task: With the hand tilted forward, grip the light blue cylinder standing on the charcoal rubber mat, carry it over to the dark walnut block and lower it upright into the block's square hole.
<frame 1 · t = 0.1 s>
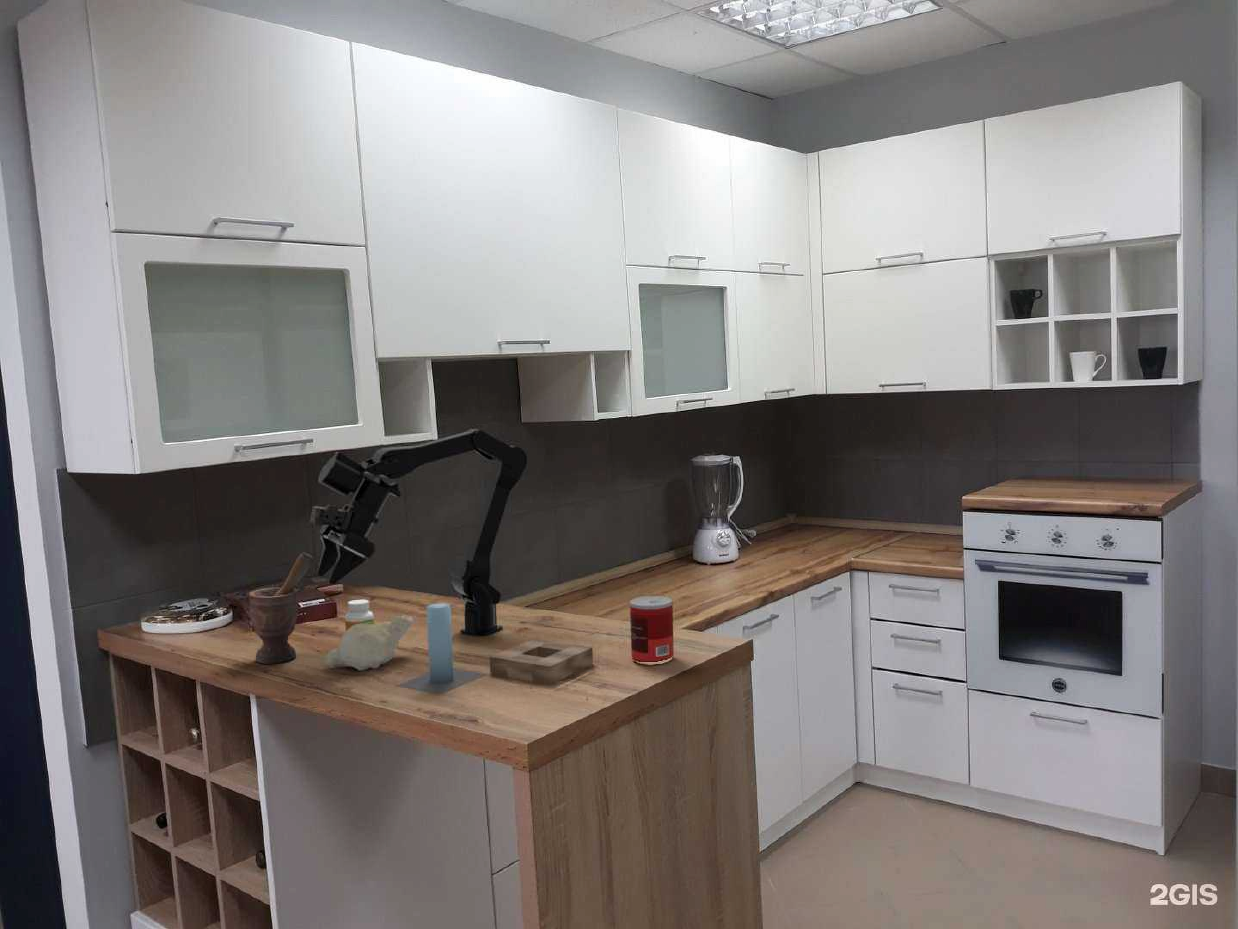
hand: (324, 579, 190), 15 cm above the countertop, tool tilted 35°, fingers open, 9 cm apart
supplement bottle: (361, 651, 194), on the countertop
block: (542, 671, 177), on the countertop
mortar and pestle: (285, 658, 191), on the countertop
light blue cylinder: (441, 680, 173), resting on mat
canned food: (652, 660, 183), on the countertop
mat: (441, 682, 173), on the countertop
cream lumpy knobby chunk: (374, 664, 186), on the countertop
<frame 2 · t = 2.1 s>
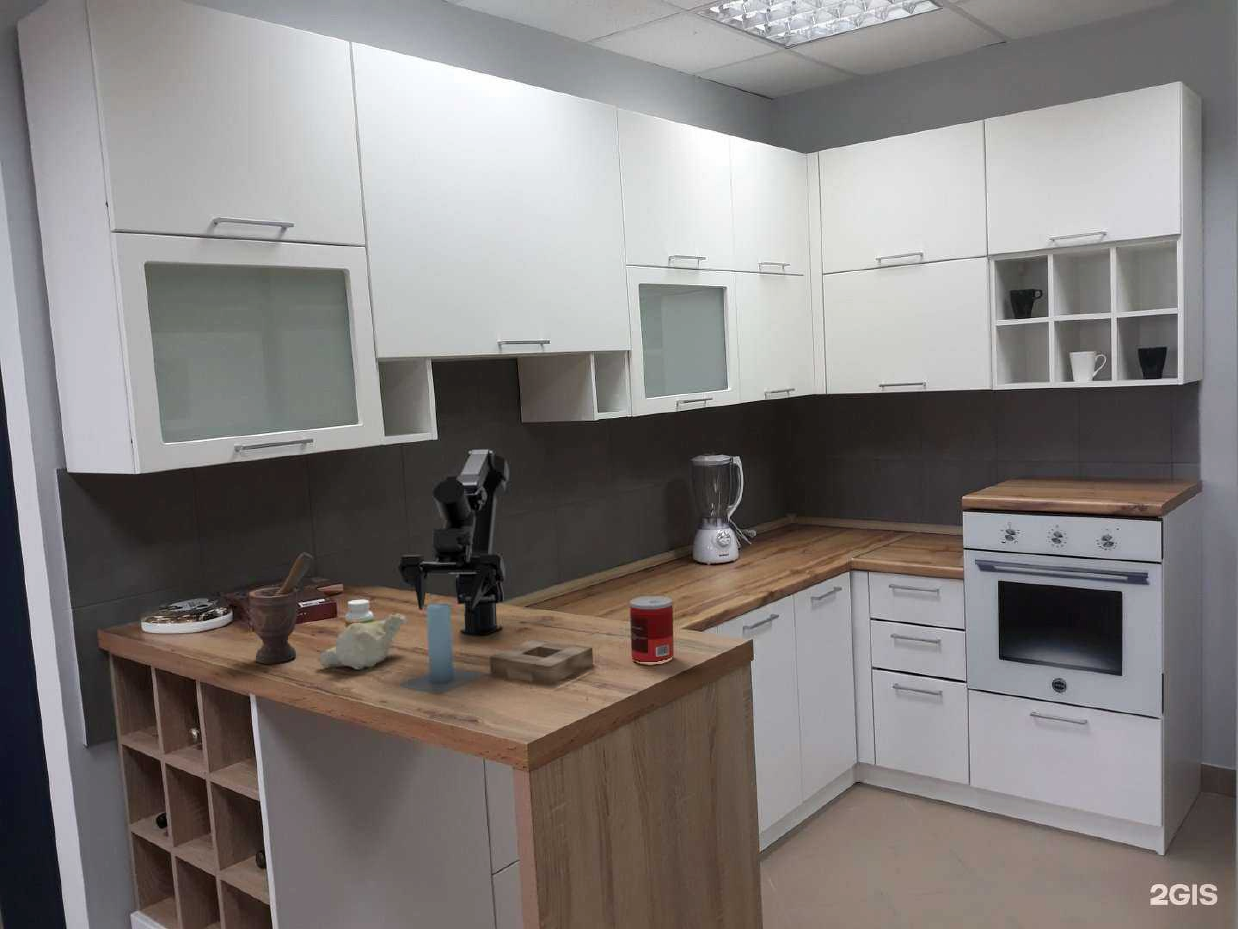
hand: (445, 608, 177), 12 cm above the countertop, tool tilted 45°, fingers open, 9 cm apart
cream lumpy knobby chunk: (368, 663, 186), on the countertop
everything else where it was.
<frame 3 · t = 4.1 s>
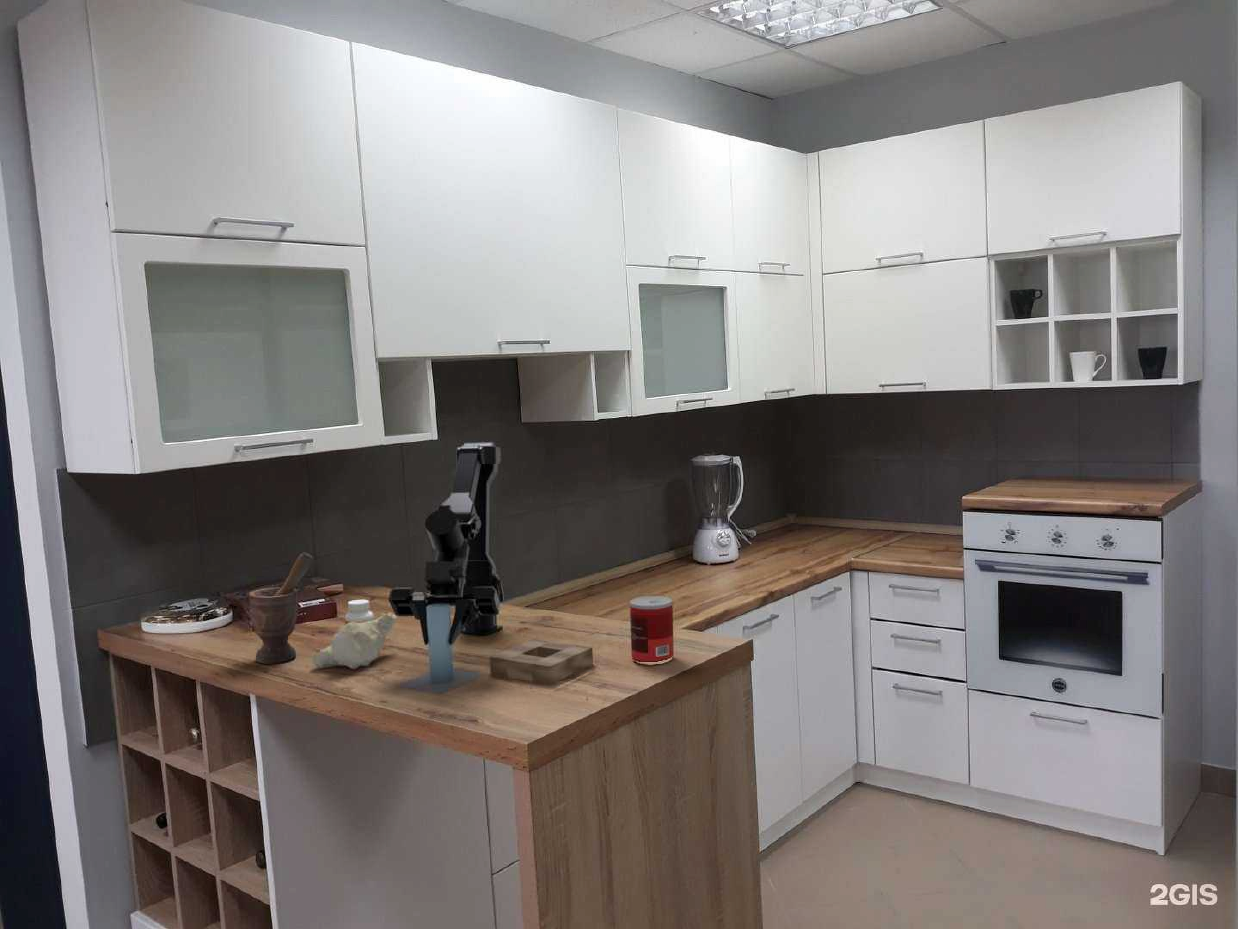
hand: (438, 643, 171), 7 cm above the countertop, tool tilted 45°, fingers closed on light blue cylinder, 4 cm apart
light blue cylinder: (441, 679, 173), resting on mat, touching gripper
cream lumpy knobby chunk: (361, 663, 187), on the countertop
everything else where it was.
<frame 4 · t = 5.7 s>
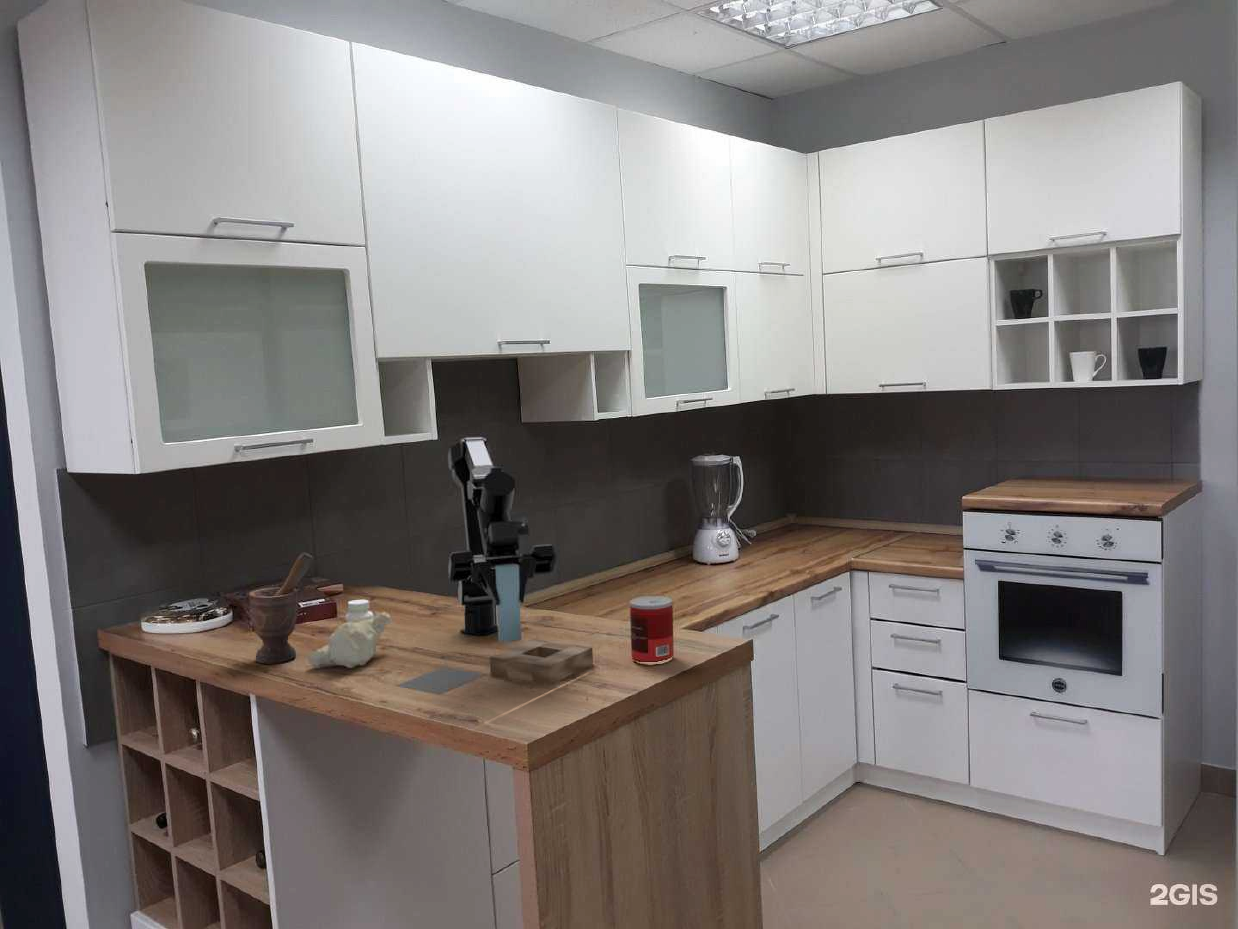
hand: (510, 602, 172), 13 cm above the countertop, tool tilted 45°, fingers closed on light blue cylinder, 4 cm apart
light blue cylinder: (509, 639, 174), point 7 cm above the countertop, touching gripper
cream lumpy knobby chunk: (356, 662, 187), on the countertop
everything else where it was.
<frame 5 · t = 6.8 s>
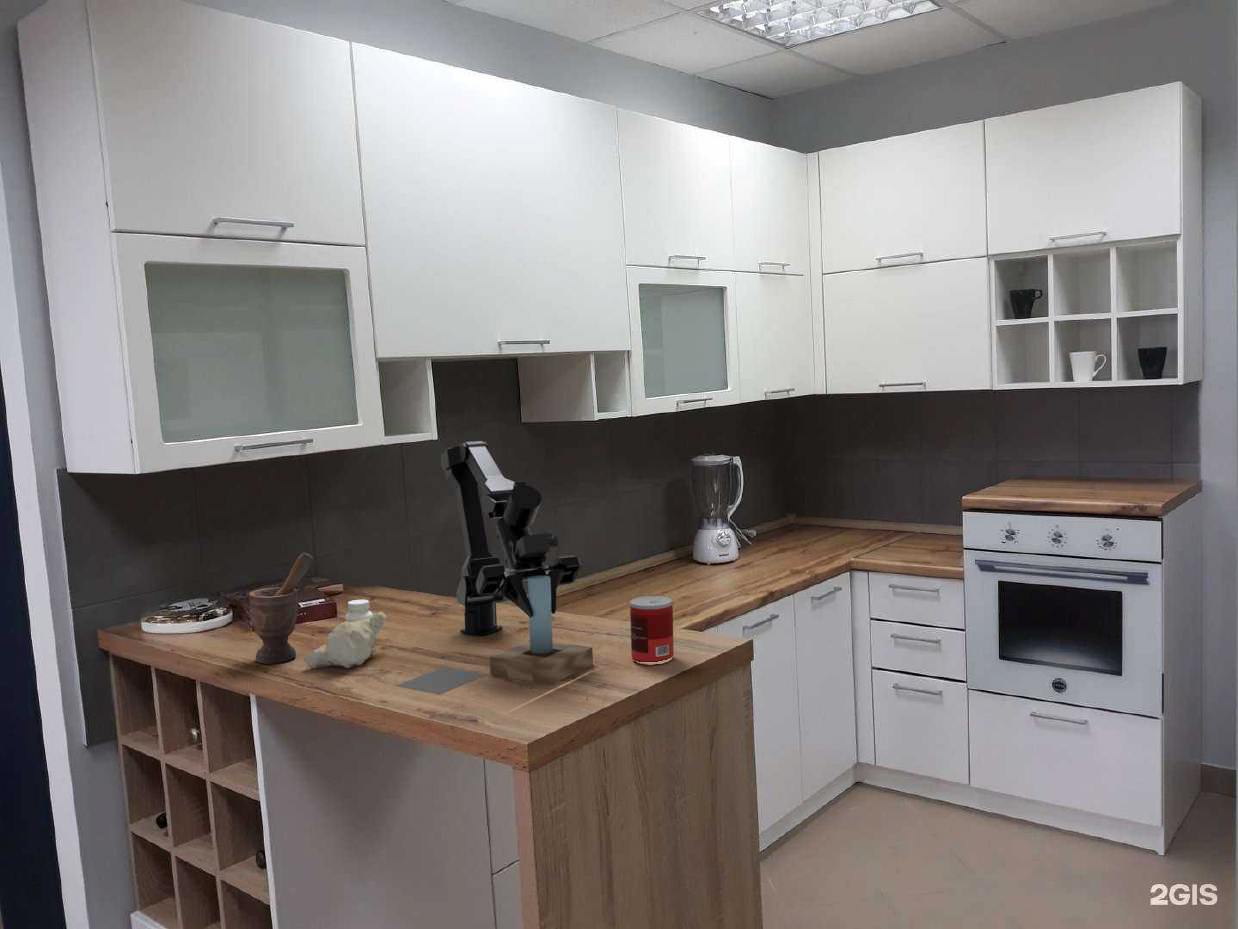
hand: (543, 614, 175), 11 cm above the countertop, tool tilted 45°, fingers closed on light blue cylinder, 4 cm apart
supplement bottle: (361, 651, 194), on the countertop, touching cream lumpy knobby chunk
light blue cylinder: (541, 650, 177), point 4 cm above the countertop, touching gripper
cream lumpy knobby chunk: (353, 662, 187), on the countertop, touching supplement bottle
everything else where it was.
when the fingers open (8 cm above the countertop, at t = 7.6 s): light blue cylinder drops 2 cm, resting in block.
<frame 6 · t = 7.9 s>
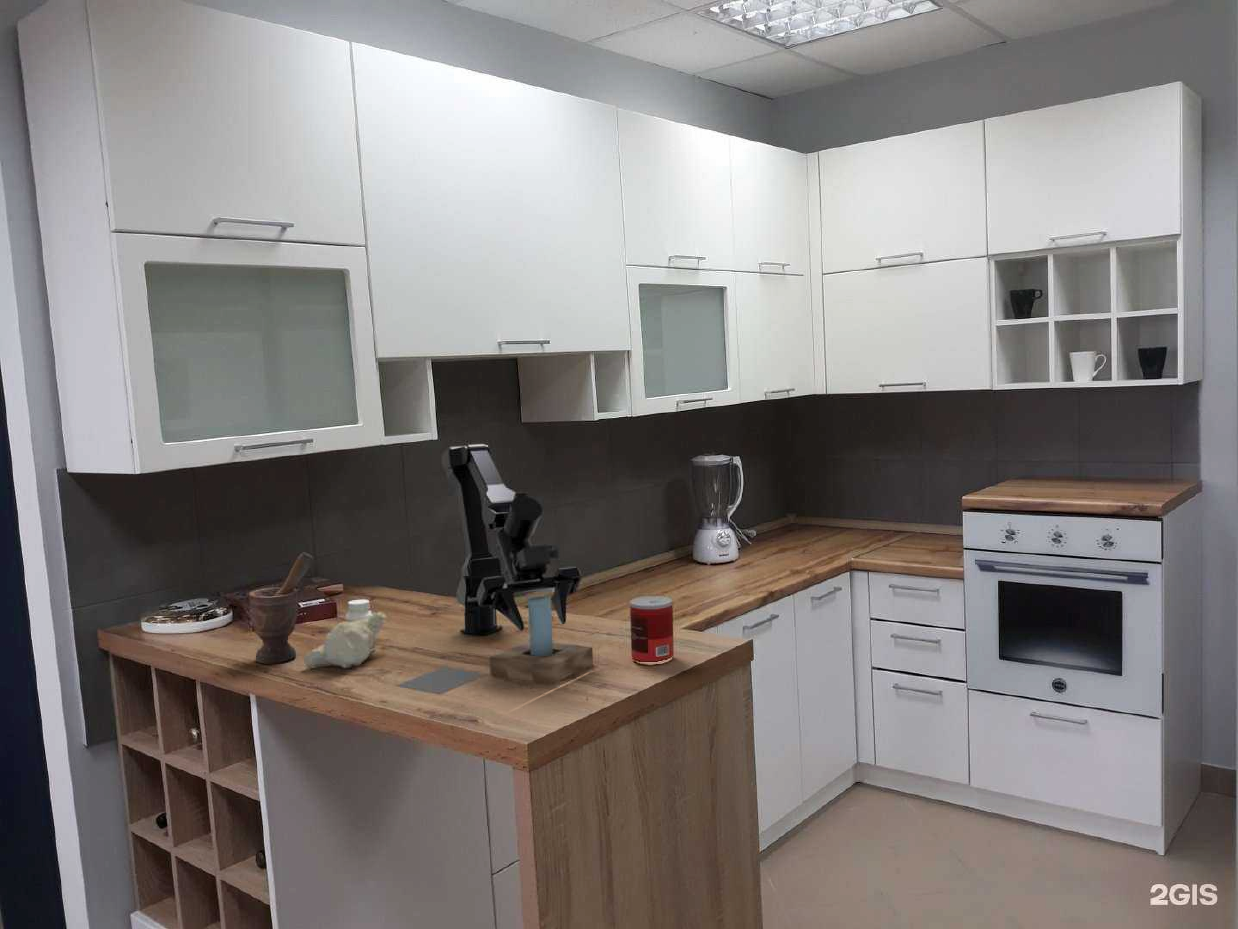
hand: (543, 625, 175), 9 cm above the countertop, tool tilted 45°, fingers open, 8 cm apart
light blue cylinder: (542, 671, 177), resting in block
everything else where it was.
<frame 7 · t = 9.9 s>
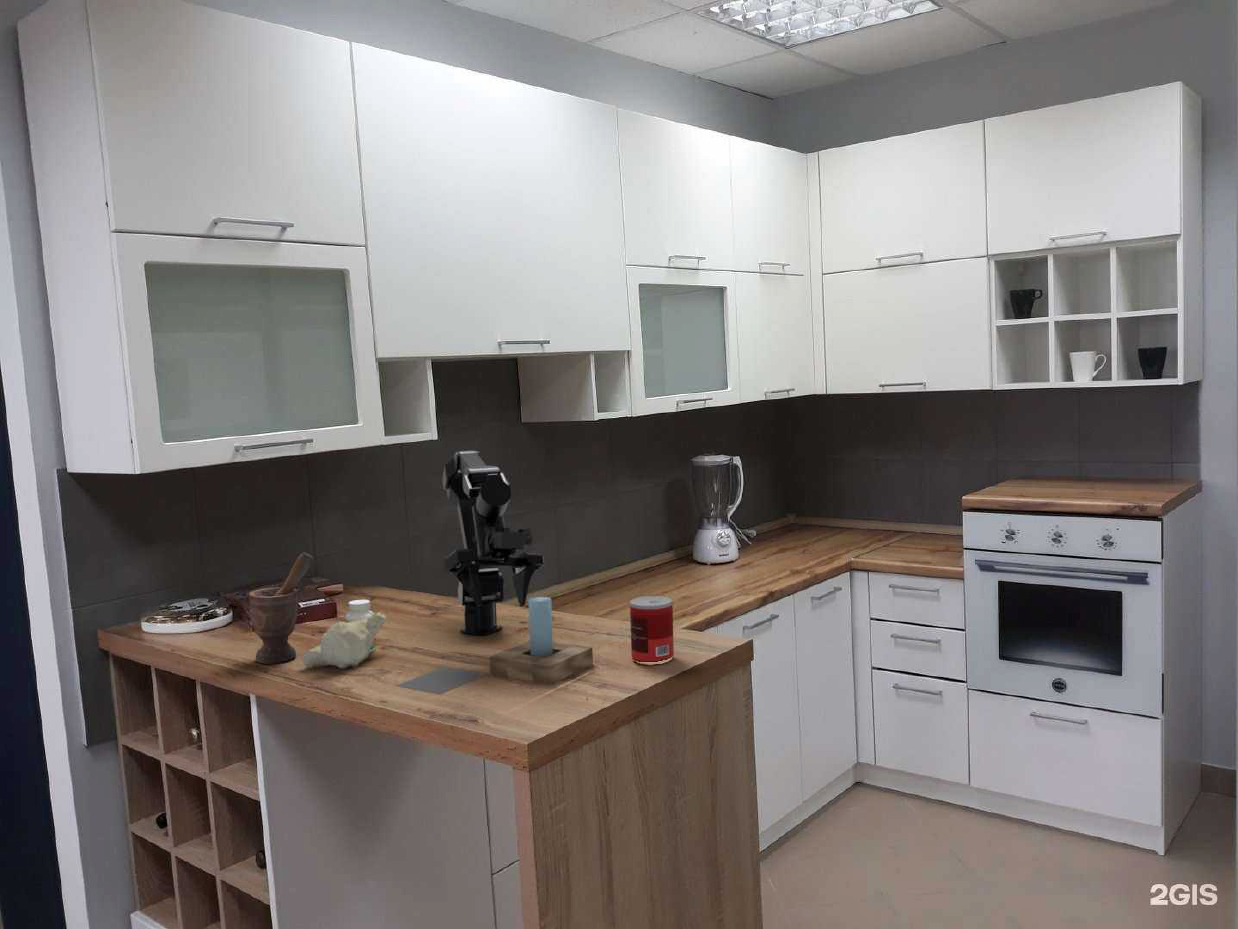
hand: (501, 605, 185), 10 cm above the countertop, tool tilted 30°, fingers open, 9 cm apart
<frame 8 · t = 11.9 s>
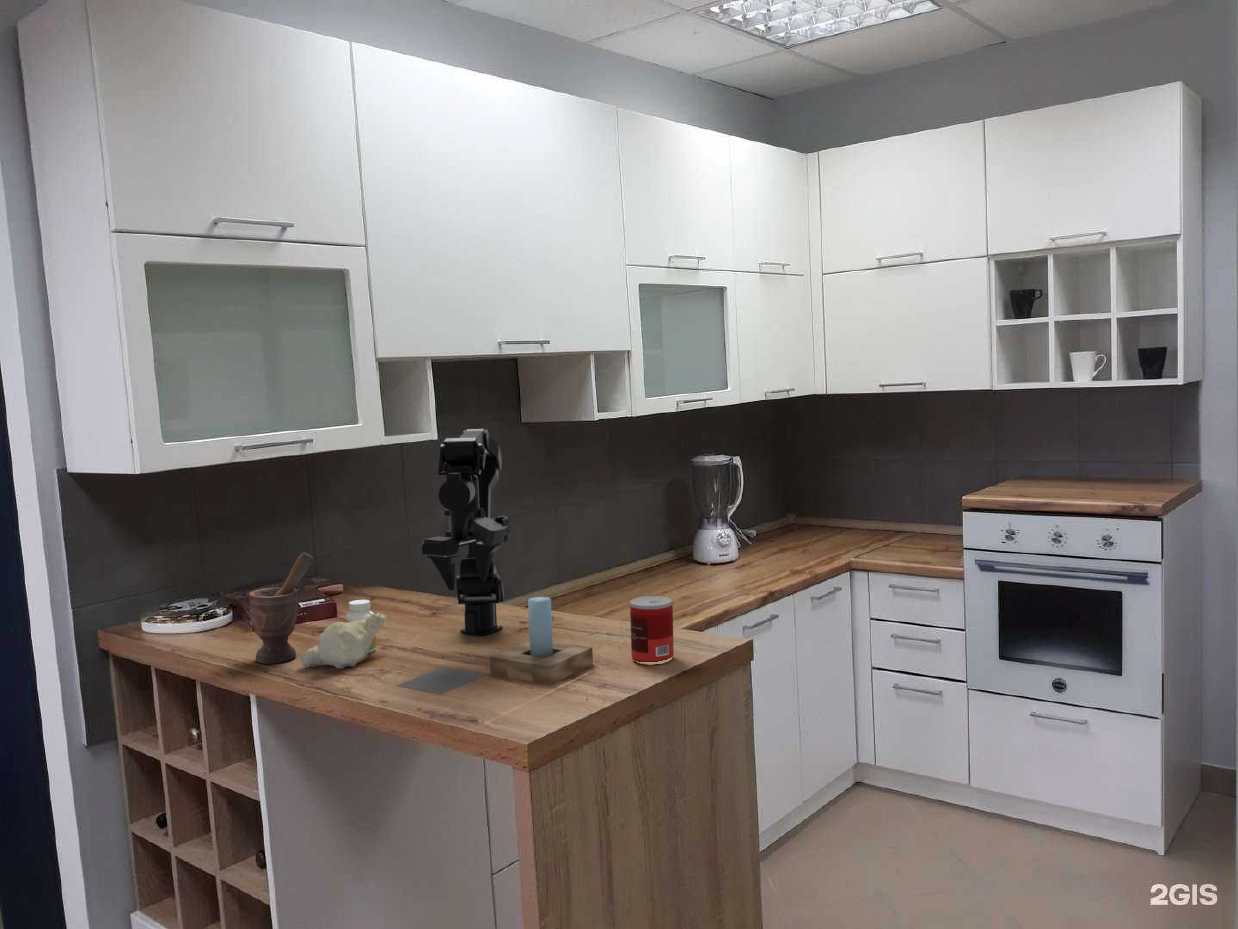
hand: (467, 585, 190), 13 cm above the countertop, tool pointing down, fingers open, 9 cm apart
at the end: light blue cylinder 0.0 cm off-centre on the block, point 0.0 cm above the block's base; light blue cylinder tilted 0°; the gripper is holding nothing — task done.
